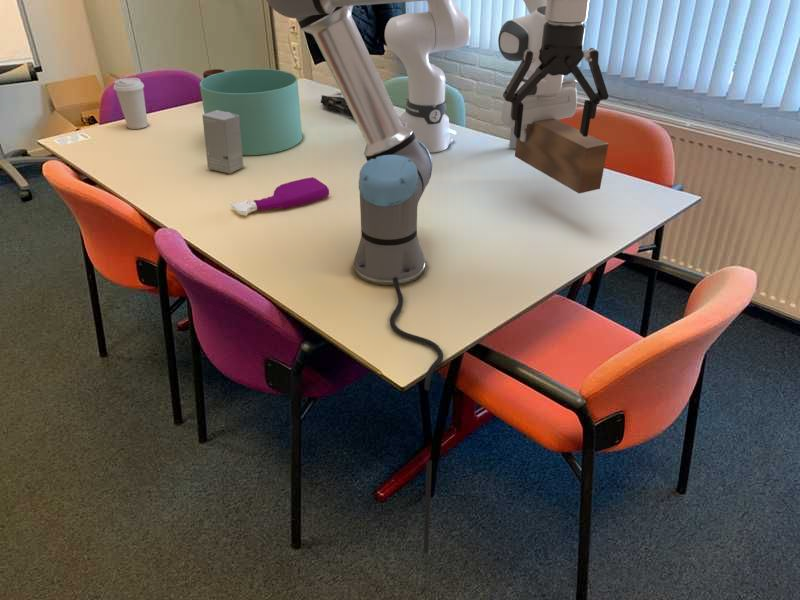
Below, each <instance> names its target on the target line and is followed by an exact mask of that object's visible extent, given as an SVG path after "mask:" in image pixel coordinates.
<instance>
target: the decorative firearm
mask: <svg viewBox="0 0 800 600" xmlns="http://www.w3.org/2000/svg"><path fill="white" fill-rule="evenodd" d="M320 104H321V105H322V106H324V107H327V108H328V109H330V110H333V111H335V112H341V113H344V114H345V115H348V116H349V117H352V118H354V117H353V115H352V113H351V111H350V109H349V107H348V105H347V103H346V101H345V99H344V97H343V95H342V93H341V91H338V92H335V93H333V94H331V95H325V94H321V99H320Z"/></svg>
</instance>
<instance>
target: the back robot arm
mask: <svg viewBox="0 0 800 600" xmlns="http://www.w3.org/2000/svg"><path fill="white" fill-rule="evenodd" d="M426 2H427V11H426V12H411V13H403V14H400V15H397V16H393V17H391V18H389V20H388V21H387V23H386V26H385V29H384V41H385V44H386V47H387V48H388V50H390V52H392V54H394V55H395V56H396V57H397V58H399V60H400V61H401V63H402V65H403V66H404V68H405V71H406V76H407V84H408V85H407V86H408V98H406V99H405V103H406V104H405V111H404V112H403V113H402V114H401V115H400V116H398V117H399V119H400V121H401V123H402V125H403V126H405V127H408V128H411V129H412V130H413V132H414V135H415V137H416V139H417V141H420V142H421V143H423V144H424V145H425V146H426V148H427V149H428V151H429V153H430V154H432V153H437V152H438V153H439V152H442V151H445V150H446V149H448V148H449V146H450V145H451V144H452V143H453V142H454V139H453V137H450V134H453V135H456V136H457V131H456V130H453V129H451V128H450V118H449V116H448V115H447V114H446V113H447V100H446V79H447V78H446V75H445V72H444V71H443V70H442V69H441V68H440V67H438V66H437V65H434V64H433V63H430V59H429V58H430V57H429V55H430V54H434V53H435V54H436V53H446V52H452V51H455V50H459V49H461V48H464V47H465V46H466V45H467V44H468V42H469V41H470V38H471V33H472V27H471V22H470V19H469V18H468V16H467V15H466V14H465V13H464V12H463V11H462V10H461V9H460V8H459V6H458V5H457V3H456V1H455V0H428V1H426ZM523 2H524V5H525V7H526V9H527V10H528V13H529V14H527V15H524V16H520V17H517V18H512V19H509V20H507V21H505V23H504V24H503V25H502V26H501V28H500V29H499V33H498V39H497V43H498V50H499V52H500V54H501V55H502V57H503V58H505V59H506V60H507V61H510V62H522V58H523V54H524V50H525V49H529V50H530V51H538V52H539V51H540V49H541V46H542V37H543V28H544V24H545V23H546V22H548V21H547V20H546V19H545V12H546V4H547V0H523ZM540 64H541V62H540V60H539V58H537V59H536V60H535V61H534V63H531V65H530V68H529V69H528V71H527V73H526V75H525V76H524V78H523V80H522V82H521V83H520V85H519V87H518V88H517V90H516V92H517V91H518V90H519V89H520V87H521V86H522V85H523V84H524V83H525V82H526V81H527V80H528V79H529V78H530V76H531V75H532V74H533V73H534V72H535V70H536V69H537V67H538V66H539V65H540ZM510 81H511V79H510V80H509V81H507V82H506V84H505V89H506V88H507V86H508V85H509V83H510ZM516 92H515V93H516ZM577 92H578V81H577V80H576V79H574V78H572V77H570V78H564V75H560V74H559V75H556V76H552V75H550V74H547V76H546V77H545V78H543V79H542V80H541V81H540V82H539V83H538V84H537V85H536V86H535V87H534V88H533V89H532V90H531V92H530V93H529V94H528V95H527V96H526V97H525V98H524V99H523V100H522V101H521V102H522V104H523V105H524V107H523V116H522V126H521V135H520V141H522V142H525V141H528V139H529V134H527V133H526V131H525V129H526V128H527V124H532V123H533V122H534V121H540V120H546V119H551V118H554V119H556V120H558V121H561V119H567V118H572V117H574V115H575V114H576V112H577V105H578V93H577ZM511 106H512V103H511V102H507V101H506V100H505V99H504V98H503V102H502V106H501V107H502V108H501V116H500V119H501V120H500V121H501V122H502V123H503V124H504V125H505V126H508V127H509V128H511V127H514V126H515V120H512V118H511Z"/></svg>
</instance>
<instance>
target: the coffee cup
mask: <svg viewBox="0 0 800 600" xmlns="http://www.w3.org/2000/svg"><path fill="white" fill-rule="evenodd" d="M144 88H145V84H144V82H142V80H141V79H140V78H138V77H124V78H119V79H117V80H115V81H114V84H113V90H114V91H115V93H116V96H117V99H118V102H119V105H120V108H121V112H122V114H123V117H124V120H125V122H126V126H127V128H128V129H131V130H139V129H144V128H146V127H148V125H149V123H148V116H147V115H148V114H147V109H146V108H147V107H146V100H145V91H144Z"/></svg>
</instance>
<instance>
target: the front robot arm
mask: <svg viewBox="0 0 800 600" xmlns="http://www.w3.org/2000/svg"><path fill="white" fill-rule="evenodd" d="M265 1H266V2H267V4H268V5H269V6H270V7H271V8H272V9H273V10H274V11H275V12H276V13H278V15H281V16H283V17H286V18H290V19H296V21H297V23H298V25H299V27H300V29H301V31H302V32H305V33H307V34H310V35H311V36H313V38H314V41H315V42H316V44H317V46H318V49H319V50H320V53H321V54H322V56H323V58H324V61H325V62H326V64H327V66H328V69H329V71H330V73H331V75H332V77H333V79H334V81H335V83H336V85H337V86H338V89H339V90H340V91H339V92H341V93H342V95H343V97H344V99H345V101H346V103H347V105H348V107H349V109H350V111H351V113H352V115H353V117H352V118H353V119H354V122H355V123H356V125H357V127H358V129H359V131H360V133H361V135H362V137H363V139H364V141H365V144H366V145H365V148H364V151H363V155H364V157H365V159H366V162H365V163H363V165H362V167H361V168H360V170H359V178H358V192H359V206H360V207H359V208H360V211H359V212H360V239H359V242H358V247H357V249H356V252H355V256H354V259H353V270H354V273H355V275H356V276H357V277H358V278H359V279H360V280H362V281H364V282H366V283H369V284H370V285H371V284H372V285H376V286H382V287H394V288H395V292H396V295H397V300H398V302H397V306H396V307H395V309H394V311H393V312H392V314H391V315H390V318H389V325H390V327H391V329H392V331H394V332H395V333H396V334H397V335H399V336H401V337H403V338H405V339H409V340H412V341H415V342H418V343H421V344H424V345H427V346H428V347H431V348H432V349H434V351H435V352H436V354H437V358H436V359H435V360H434V362H432V363H431V365H430V367H429V368H428V369H427V372H426V374H425V379H424V385H423V390H424V391H430V389H431V380H432V376H433V374H434V372H435V371H436V369H437V368H438V367H439V365H441V363H442V362H443V359H444V352H443V350H442V348H440V346H439V345H438V344H437V343H436V342H434V341H432V340H430V339H428V338H426V337H421V336H419V335H415V334H412V333H408V332H406V331H404V330H402V329H400V328H399V327H398V326H397V325H396V318H397V317H398V315H399V314H400V312H401V310H402V308H403V303H404V296H403V293H402V290H401V286H402V285H406V284H410V283H413V282H415V281H417V280H418V279H420V278H421V276H423V274H424V273H425V270H426V261H425V255H424V252H423V250H422V247H421V244H420V241H419V238H418V207H419V202H420V200H421V198H422V196H423V194H424V192H425V190H426V188H427V186H428V184H429V183H430V180H431V177H432V173H433V159H432V155H431V153H429V151H428V149H427V148H426V146H425V145H424V144H423V143H421V142H420V141H417V139H416V137H415V135H414V132H413V130H412V129H411V128H408V127H405V126H403V125H402V123H401V121H400V119H399V117H400V116H399V115H398V113H397V110H396V109H395V106H394V104H393V101H392V100H391V97H390V96H389V93H388V91H387V89H386V87H385V85H384V83H383V81H382V78H381V76H380V74H379V72H378V70H377V67H376V65H375V63H374V61H373V59H372V56H371V55H370V52H369V49H368V48H367V46H366V44H365V41H364V39H363V38H362V34H361V33H360V31H359V28H358V26H357V24H356V22H355V20H354V18H353V15H352V12H353V8H354V6H371V5H382V4H383V5H385V4H397V3H398V4H399V3H411V2H427V1H428V0H265ZM589 3H590V0H547V4H546V12H545V19H546V20H547V21H548V22H546V23H545V24H544V28H543V37H542V46H541V49H540V51H539V52H538V51H530V50H529V49H525V50H524V54H523V58H522V61H520V63H519V65H518V67H517V69H516V70H515V72H514V74H513V76H512V77H511V79H510V80H511V81H510V80H509V81H510V83H509V85H508V86H507V88H506V87H505V89H504V91H503V93H502V97H503V100H504V99H505V100H506V101H507V102H511V103H512V106H511V118H512V120H515V126H514V135H515V136H516V138H520V135H521V126H522V116H523V107H524V105H523V104H522V102H521V101H522V100H523V99H524V98H525V97H526V96H527V95H528V94H529V93H530V92H531V90H532V89H533V88H534V87H535V86H536V85H537V84H538V83H539V82H540V81H541V80H542V79H543V78H545V77H546V76H547V74H550V75H552V76H556V75H559V74H560V75H563V76H568V75H570V74H572V76H573V77H574V78H575V81H576V82H577V84H579V86H580V87H581V89H582V90H583V92H584V94H586V97H587V98H588V99H585V100H584V103H583V109H582V116H581V122H580V129H579V130H580V133H581V134H582V135H583V136H584V137H587V136H588V135H589V129H590V123H591V120H593V119H595V118H596V114H597V107H598V105H599V104H601V101H606V100H608V99H609V93H608V90H607V87H606V83H605V79H604V77H603V73H602V70H601V67H600V64H599V55H600V54H599V53H600V52H599V51H598V50H597V49H595V48H594V47H590V48H589V49H586V50H583V46H584V41H585V40H584V39H585V33H586V25H585V22H586V21H587V19H588V13H589ZM537 58H539V60H540V62H541V64H540V65H539V66H538V67H537V69H536V70H535V72H534V73H533V74H532V75H531V76H530V78H529V79H528V80H527V81H526V82H525V83H524V84H523V85H522V86H521V87H520V89H519V90H518V91H517V92H516V90H517V88H518V87H519V85H520V83H521V82H522V80H523V78H524V76H525V75H526V73H527V71H528V69H529V68H530V65H531V63H534V61H535V60H536V59H537ZM583 59H584V61H586V62H587V63H588V66H589V70H590V72H591V76H592V79H593V81H594V85H595V89H596V91H597V92H595V91H594V89H593V87H592V86H591V84H590V83H589V82H588V80H587V79H586V78H585V76H584V74H583V72H582V71H581V70H580V69H581V68H579V66H578V65H579V64H580V63H581V62H582V61H583ZM515 92H516V93H515ZM432 464H433V459H430V460H427V461H426V467H425V469H426V470H425V497H424V499H425V501H424V527H423V553H424V554H428V553H429V541H430V540H429V539H430V517H431V516H430V514H431V494H432V493H431V492H432V469H433V468H432V467H433V465H432Z"/></svg>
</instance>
